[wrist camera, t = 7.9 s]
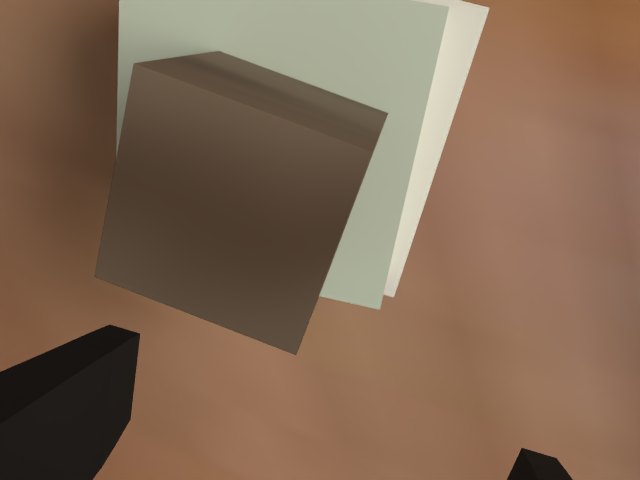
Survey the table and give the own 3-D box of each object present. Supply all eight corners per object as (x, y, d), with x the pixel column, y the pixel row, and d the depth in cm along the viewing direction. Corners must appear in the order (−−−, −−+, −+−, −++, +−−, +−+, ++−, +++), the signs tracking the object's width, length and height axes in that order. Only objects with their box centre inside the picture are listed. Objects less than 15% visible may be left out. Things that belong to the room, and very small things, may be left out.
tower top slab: (385, 273, 18) (379, 309, 16) (152, 221, 19) (114, 249, 17) (445, 8, 15) (449, 6, 13) (163, -40, 16) (120, -50, 14)
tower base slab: (397, 266, 21) (393, 297, 18) (167, 199, 21) (136, 221, 19) (481, 9, 17) (489, 7, 15) (204, -61, 18) (170, -74, 16)
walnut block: (330, 267, 16) (296, 355, 12) (180, 210, 16) (94, 277, 12) (388, 112, 14) (372, 151, 10) (219, 51, 14) (133, 63, 10)
